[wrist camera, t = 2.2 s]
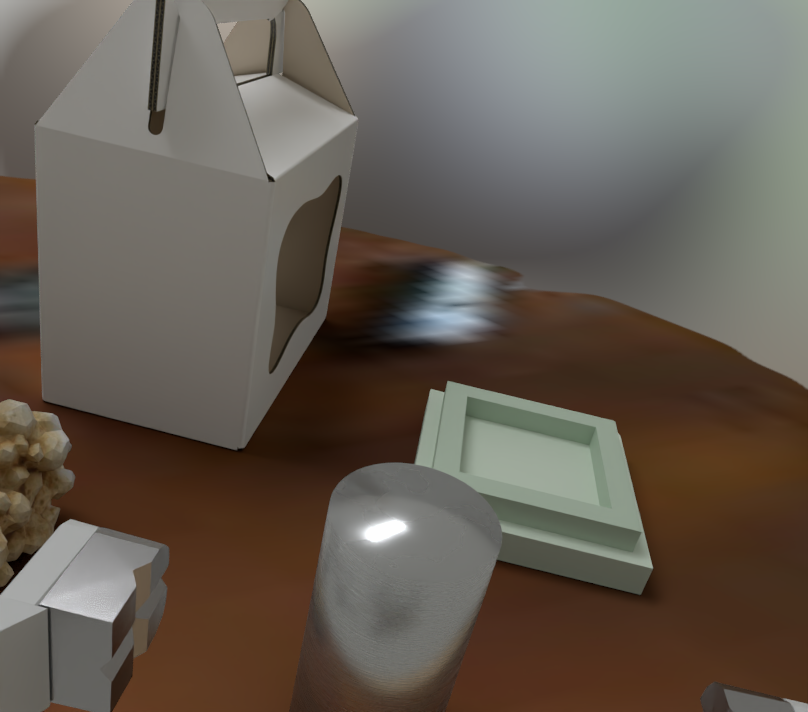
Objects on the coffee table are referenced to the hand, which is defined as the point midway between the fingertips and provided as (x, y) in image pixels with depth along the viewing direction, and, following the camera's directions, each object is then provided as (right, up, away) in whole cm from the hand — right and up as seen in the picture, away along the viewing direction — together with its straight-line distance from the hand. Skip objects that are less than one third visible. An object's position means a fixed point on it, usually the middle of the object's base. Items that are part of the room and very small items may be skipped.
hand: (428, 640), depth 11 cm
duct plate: (+7, -5, +37) cm, 38 cm away
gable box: (-15, +4, +45) cm, 48 cm away
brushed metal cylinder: (-2, -12, +20) cm, 23 cm away
